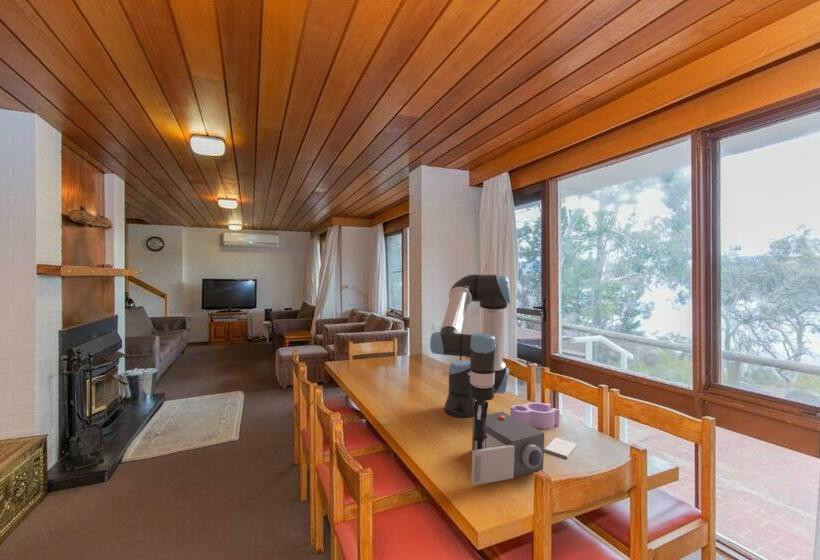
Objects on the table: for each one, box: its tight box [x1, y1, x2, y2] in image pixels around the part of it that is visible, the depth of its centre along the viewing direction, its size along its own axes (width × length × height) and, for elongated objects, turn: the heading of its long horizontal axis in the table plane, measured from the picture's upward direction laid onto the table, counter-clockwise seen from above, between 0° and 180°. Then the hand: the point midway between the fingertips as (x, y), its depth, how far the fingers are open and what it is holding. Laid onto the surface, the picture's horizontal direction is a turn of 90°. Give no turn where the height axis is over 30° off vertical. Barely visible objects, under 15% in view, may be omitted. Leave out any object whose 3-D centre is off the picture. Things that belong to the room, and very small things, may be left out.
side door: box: [470, 445, 515, 486], centre depth 110 cm, size 14×2×10 cm, turn 108°
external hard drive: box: [544, 437, 578, 460], centre depth 135 cm, size 2×8×12 cm
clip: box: [509, 401, 561, 430], centre depth 157 cm, size 20×12×7 cm, turn 101°
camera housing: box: [471, 411, 545, 479], centre depth 125 cm, size 23×14×13 cm, turn 28°
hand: (479, 459), depth 113 cm, fingers closed
